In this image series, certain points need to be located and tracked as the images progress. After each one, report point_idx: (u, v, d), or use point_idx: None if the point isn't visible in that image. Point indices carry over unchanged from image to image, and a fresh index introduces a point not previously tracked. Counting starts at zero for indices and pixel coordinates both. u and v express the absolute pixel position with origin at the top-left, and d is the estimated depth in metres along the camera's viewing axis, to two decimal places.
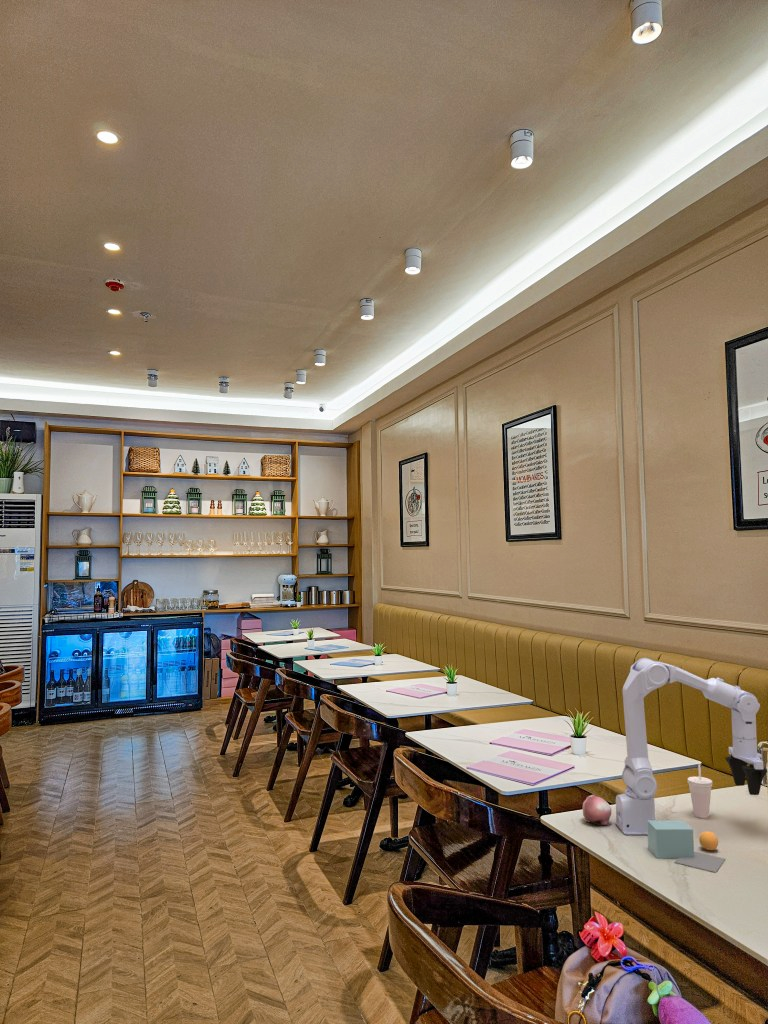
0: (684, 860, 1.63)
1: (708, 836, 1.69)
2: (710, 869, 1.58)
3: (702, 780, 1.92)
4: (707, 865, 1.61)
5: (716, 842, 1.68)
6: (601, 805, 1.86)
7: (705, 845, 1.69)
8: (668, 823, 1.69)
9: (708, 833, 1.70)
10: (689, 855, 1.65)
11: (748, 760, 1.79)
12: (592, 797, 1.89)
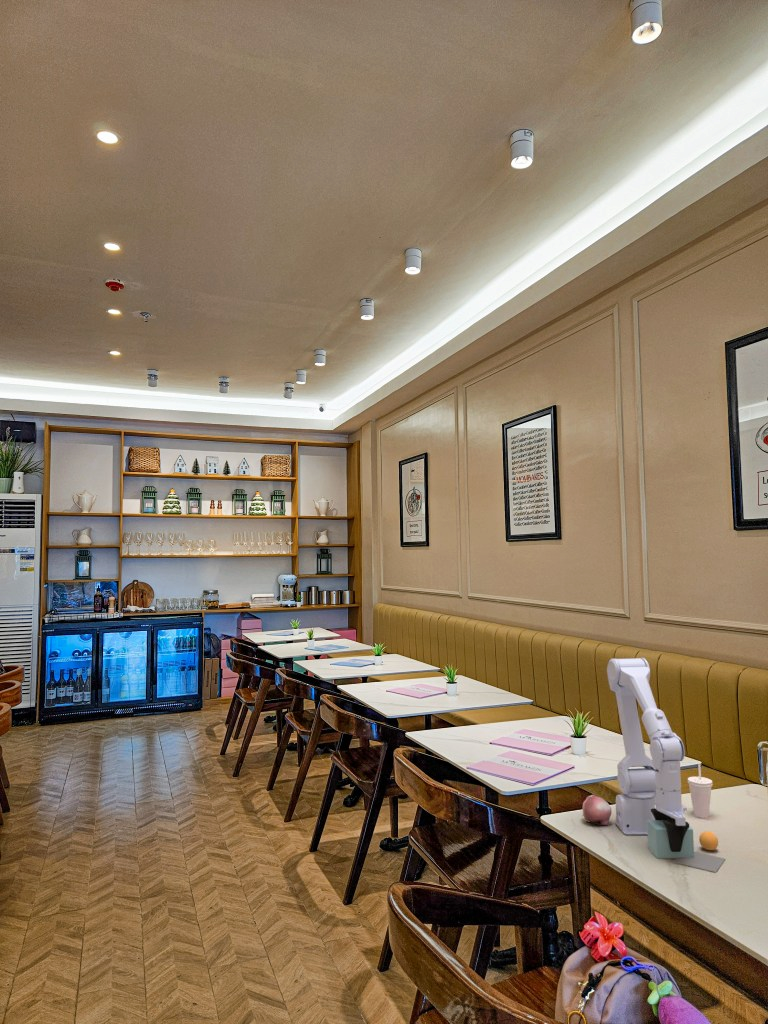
0: (684, 860, 1.63)
1: (708, 836, 1.69)
2: (710, 869, 1.58)
3: (702, 780, 1.92)
4: (707, 865, 1.61)
5: (716, 842, 1.68)
6: (601, 805, 1.86)
7: (705, 845, 1.69)
8: None
9: (708, 833, 1.70)
10: (689, 855, 1.65)
11: (670, 815, 1.64)
12: (592, 797, 1.89)
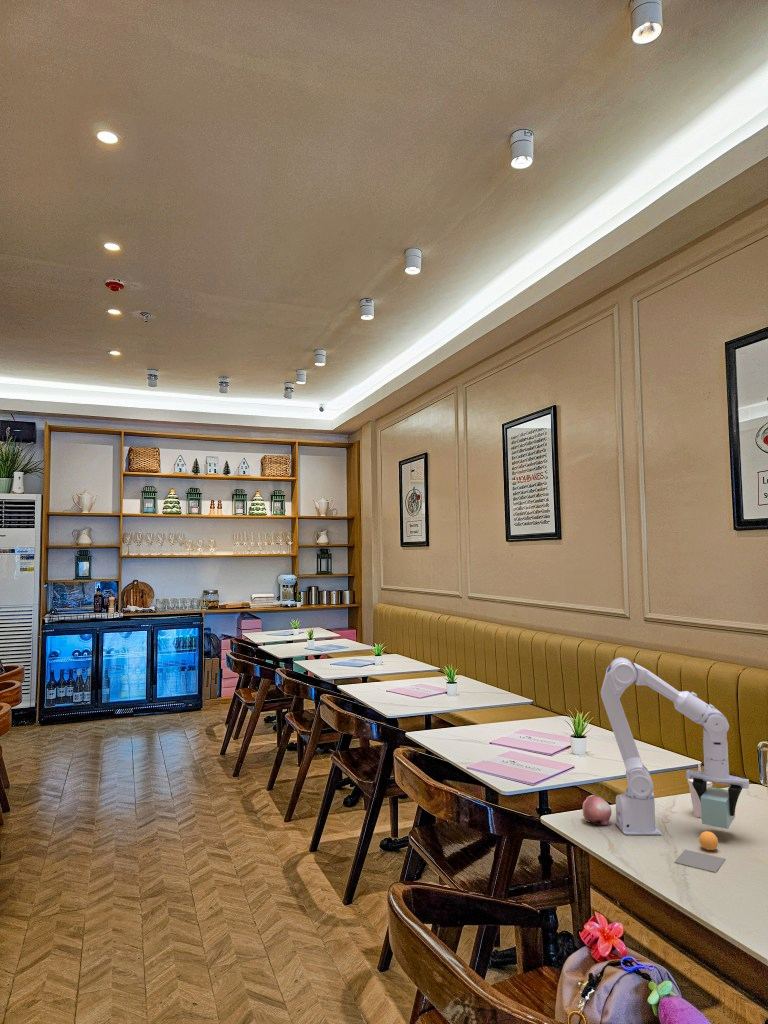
0: (684, 860, 1.63)
1: (708, 836, 1.69)
2: (710, 869, 1.58)
3: None
4: (707, 865, 1.61)
5: (716, 842, 1.68)
6: (601, 805, 1.86)
7: (705, 845, 1.69)
8: (713, 793, 1.79)
9: (708, 833, 1.70)
10: (734, 815, 1.79)
11: (735, 781, 1.75)
12: (592, 797, 1.89)
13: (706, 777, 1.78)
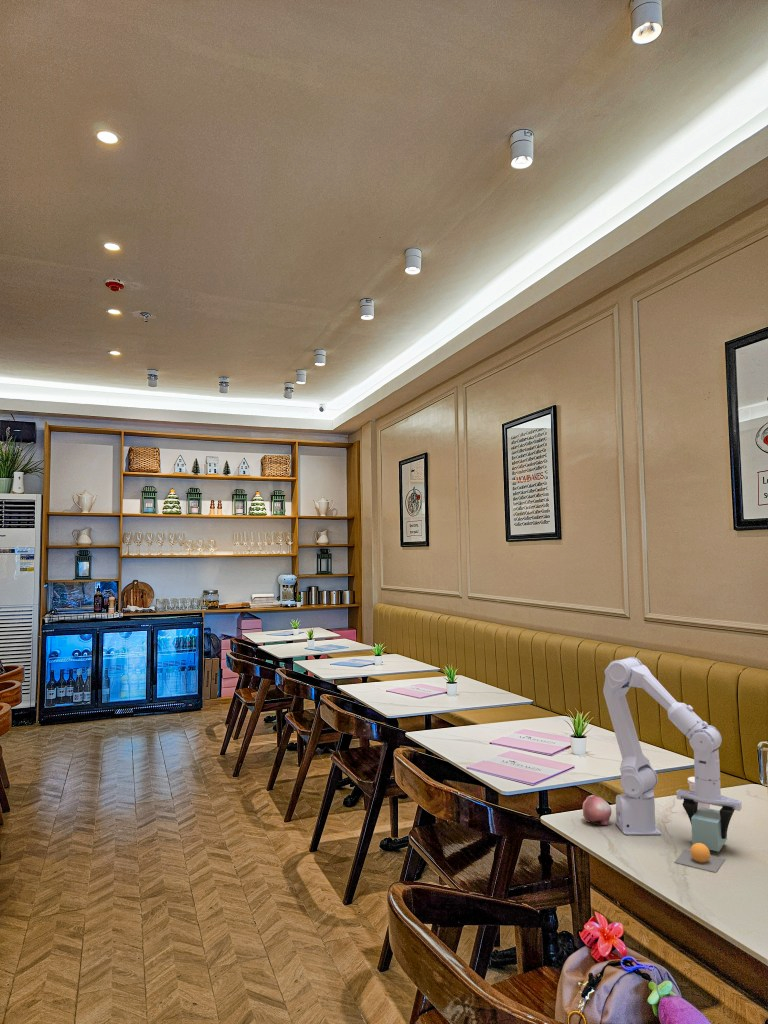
0: (684, 860, 1.63)
1: None
2: (710, 869, 1.58)
3: None
4: (707, 865, 1.61)
5: (709, 851, 1.62)
6: (601, 805, 1.86)
7: None
8: (704, 814, 1.72)
9: None
10: (726, 837, 1.72)
11: (727, 803, 1.68)
12: (592, 797, 1.89)
13: (697, 798, 1.71)
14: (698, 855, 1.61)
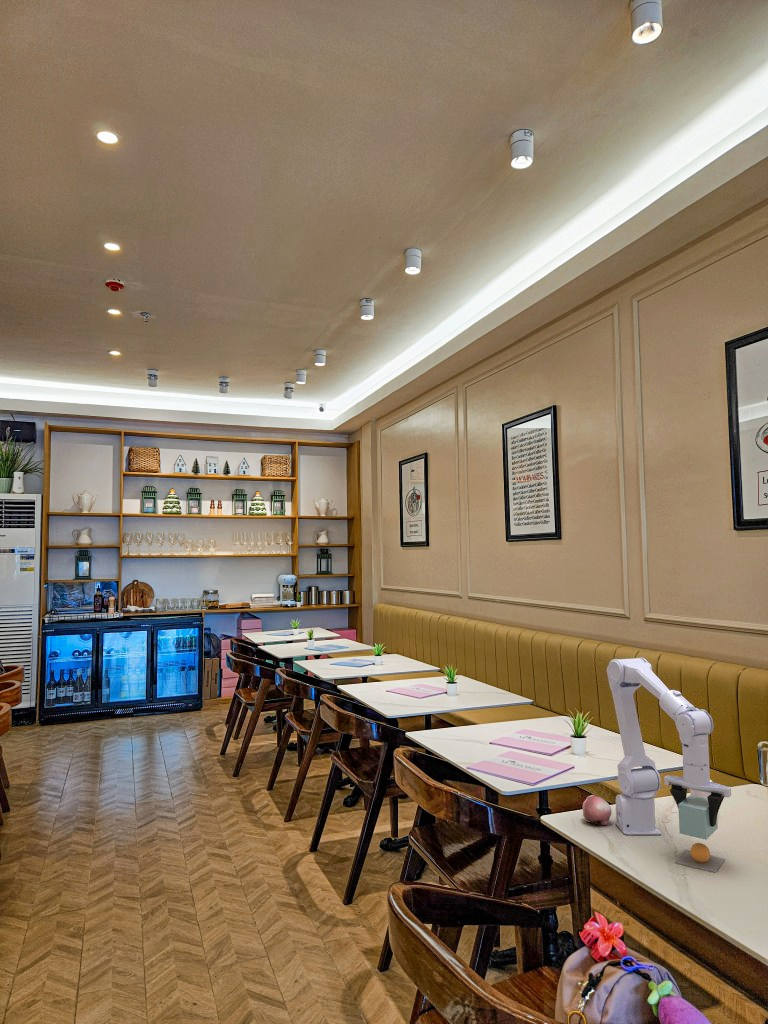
0: (684, 860, 1.63)
1: None
2: (710, 869, 1.58)
3: None
4: (707, 865, 1.61)
5: (709, 851, 1.62)
6: (601, 805, 1.86)
7: None
8: (693, 801, 1.65)
9: None
10: (716, 826, 1.65)
11: (716, 789, 1.60)
12: (592, 797, 1.89)
13: (684, 784, 1.64)
14: (698, 855, 1.61)
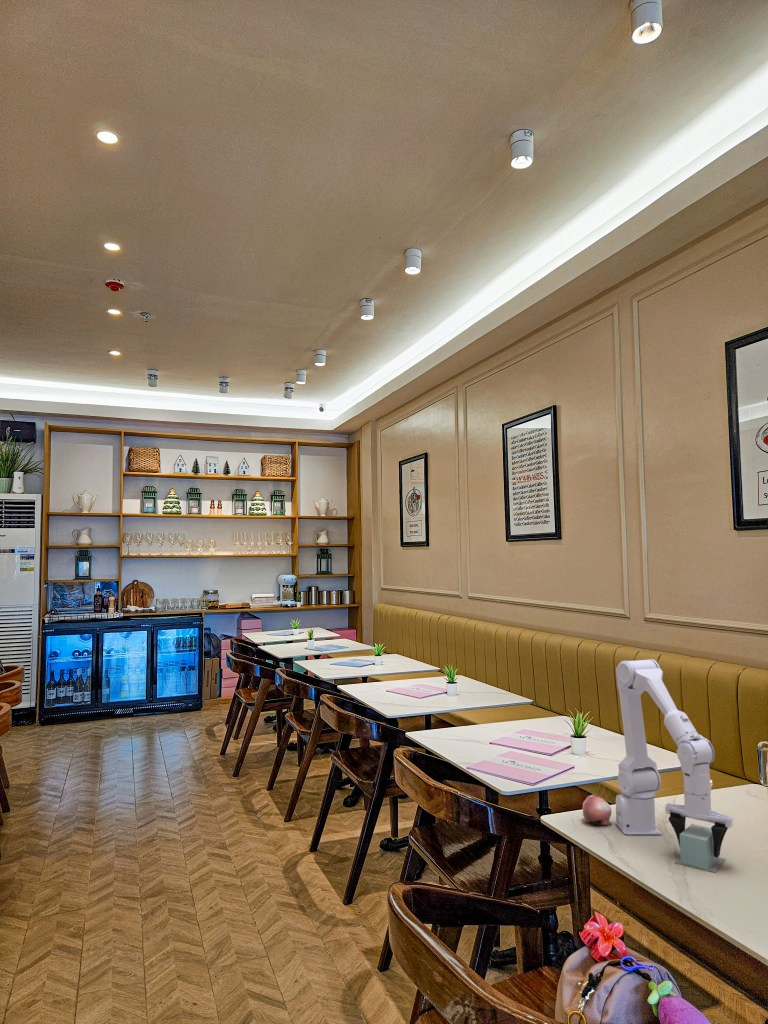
0: None
1: None
2: (710, 869, 1.58)
3: None
4: None
5: None
6: (601, 805, 1.86)
7: None
8: (695, 830, 1.65)
9: None
10: (717, 857, 1.64)
11: (717, 819, 1.60)
12: (592, 797, 1.89)
13: (685, 813, 1.64)
14: None
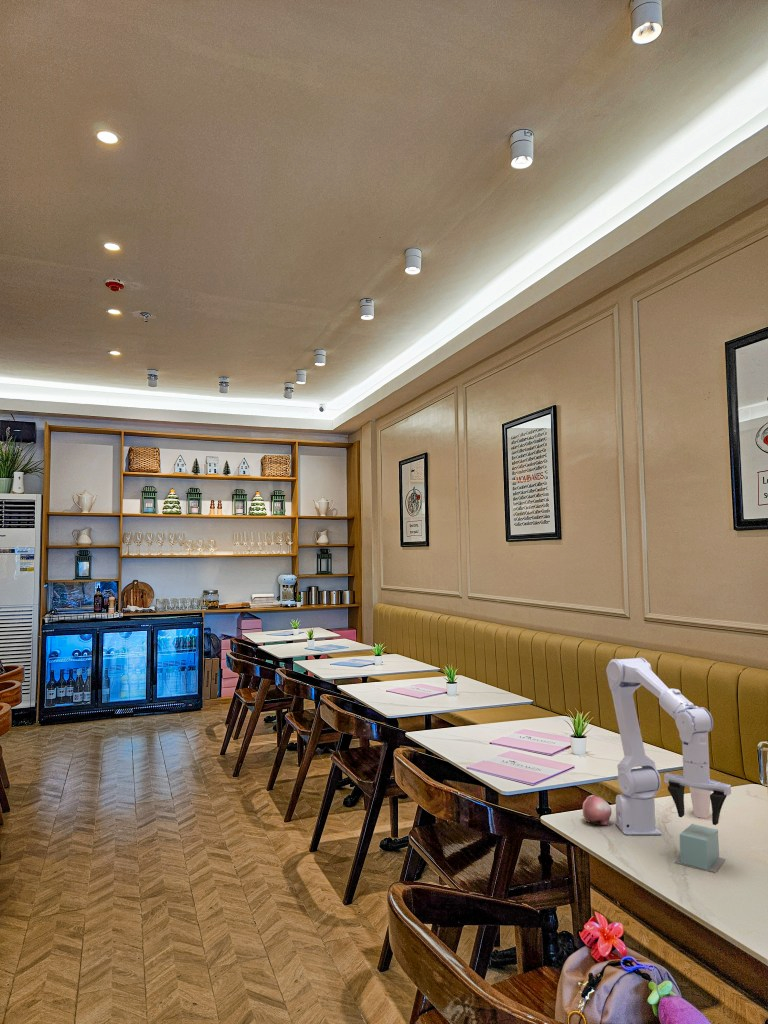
0: None
1: None
2: (710, 869, 1.58)
3: None
4: None
5: None
6: (601, 805, 1.86)
7: None
8: (695, 830, 1.65)
9: None
10: (717, 857, 1.64)
11: (716, 787, 1.60)
12: (592, 797, 1.89)
13: (684, 781, 1.64)
14: None
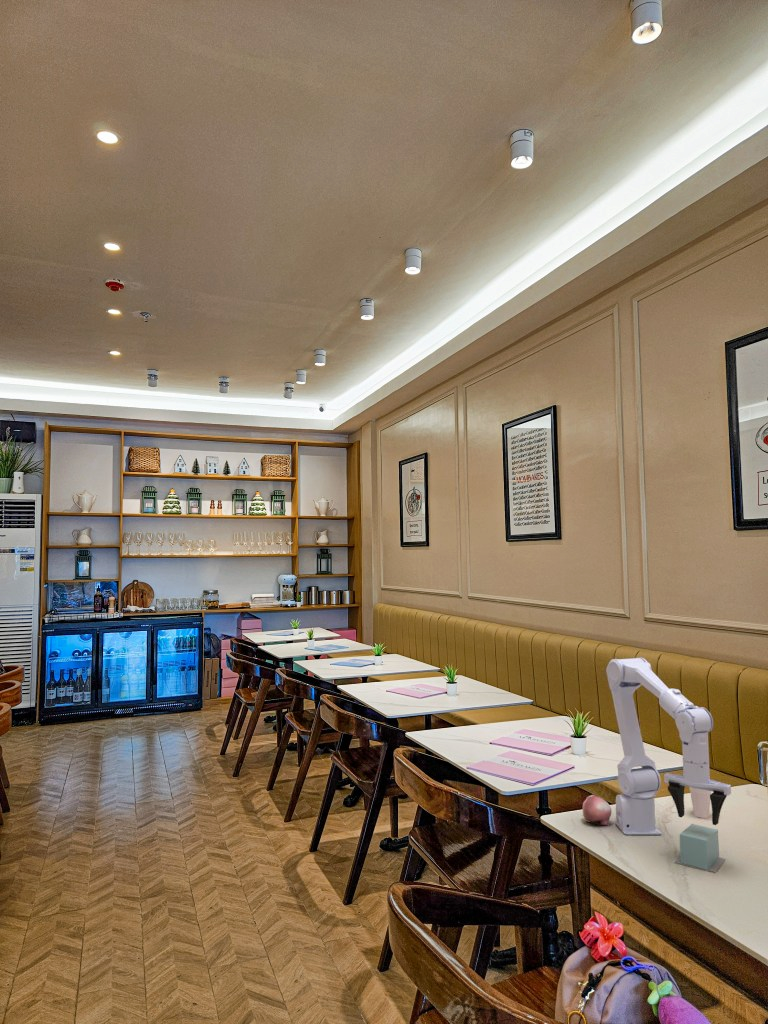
0: None
1: None
2: (710, 869, 1.58)
3: None
4: None
5: None
6: (601, 805, 1.86)
7: None
8: (695, 830, 1.65)
9: None
10: (717, 857, 1.64)
11: (716, 787, 1.60)
12: (592, 797, 1.89)
13: (684, 781, 1.64)
14: None
